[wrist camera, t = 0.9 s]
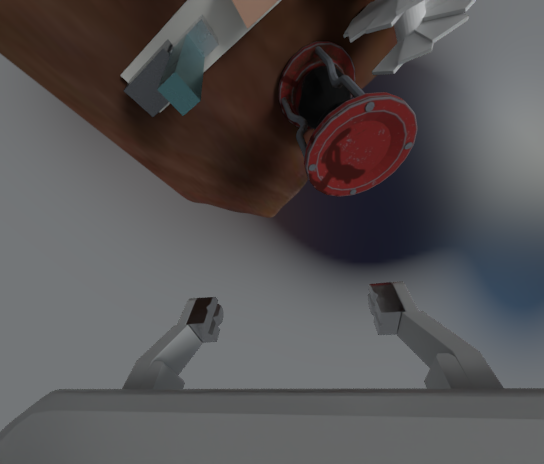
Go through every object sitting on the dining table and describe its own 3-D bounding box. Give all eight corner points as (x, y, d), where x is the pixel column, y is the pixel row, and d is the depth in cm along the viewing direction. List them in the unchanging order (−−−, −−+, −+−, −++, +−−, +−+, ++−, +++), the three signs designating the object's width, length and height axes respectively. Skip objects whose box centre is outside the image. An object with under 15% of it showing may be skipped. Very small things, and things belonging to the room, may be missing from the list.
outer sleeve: (157, 104, 44) (152, 117, 41) (130, 78, 40) (123, 90, 37) (193, 70, 41) (191, 81, 38) (167, 38, 37) (163, 48, 34)
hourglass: (272, 51, 41) (304, 114, 26) (358, 30, 41) (440, 82, 26) (282, 132, 54) (307, 205, 39) (347, 117, 54) (398, 185, 39)
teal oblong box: (156, 99, 43) (133, 159, 31) (138, 81, 40) (105, 140, 28) (218, 38, 37) (219, 84, 26) (202, 13, 35) (195, 52, 23)
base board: (160, 110, 46) (160, 112, 46) (122, 73, 41) (120, 75, 40) (283, -5, 36) (285, -3, 35) (254, -76, 30) (255, -77, 29)
